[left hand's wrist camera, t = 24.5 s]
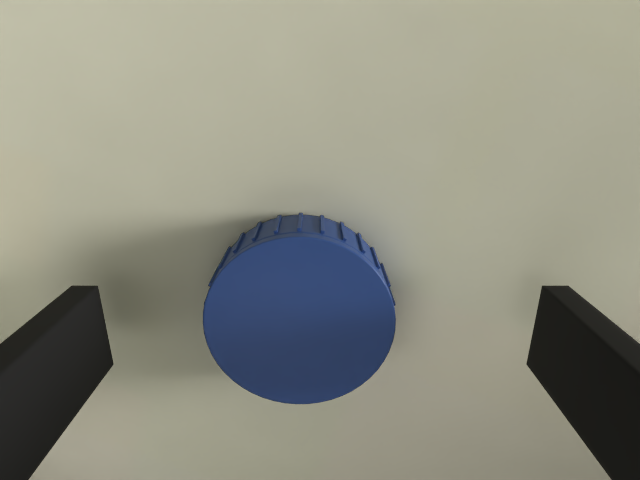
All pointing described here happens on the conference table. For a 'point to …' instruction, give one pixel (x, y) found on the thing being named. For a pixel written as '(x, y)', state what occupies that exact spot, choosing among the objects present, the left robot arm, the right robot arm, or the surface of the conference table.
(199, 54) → the conference table surface
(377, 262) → the lid
